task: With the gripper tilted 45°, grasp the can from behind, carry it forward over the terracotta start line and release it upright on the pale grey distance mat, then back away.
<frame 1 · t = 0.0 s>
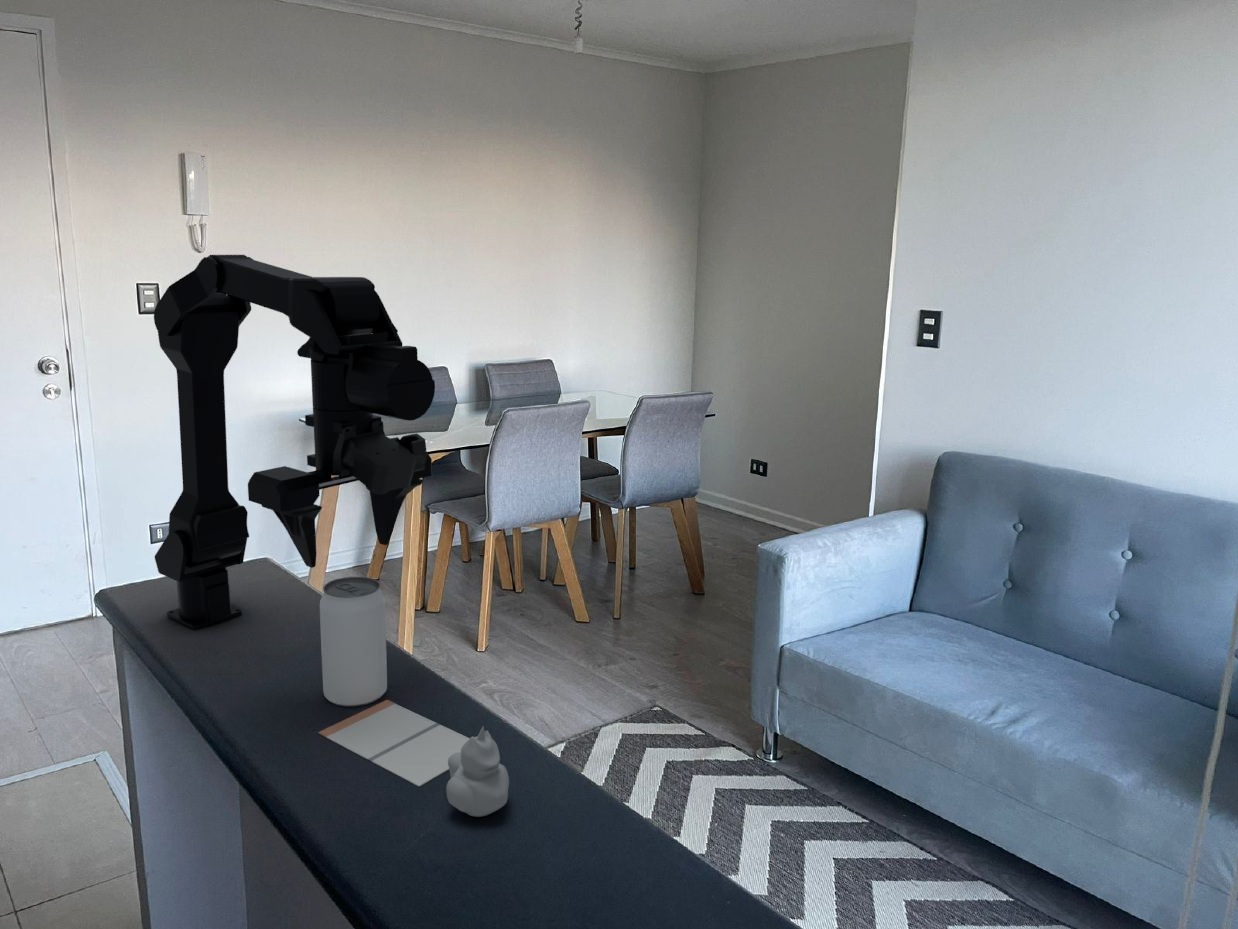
hand: (348, 555, 99), 15 cm above the counter, tool pointing down, fingers open, 9 cm apart
distance mat: (401, 740, 92), on the counter
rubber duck: (476, 808, 82), on the counter
can: (355, 695, 100), on the counter
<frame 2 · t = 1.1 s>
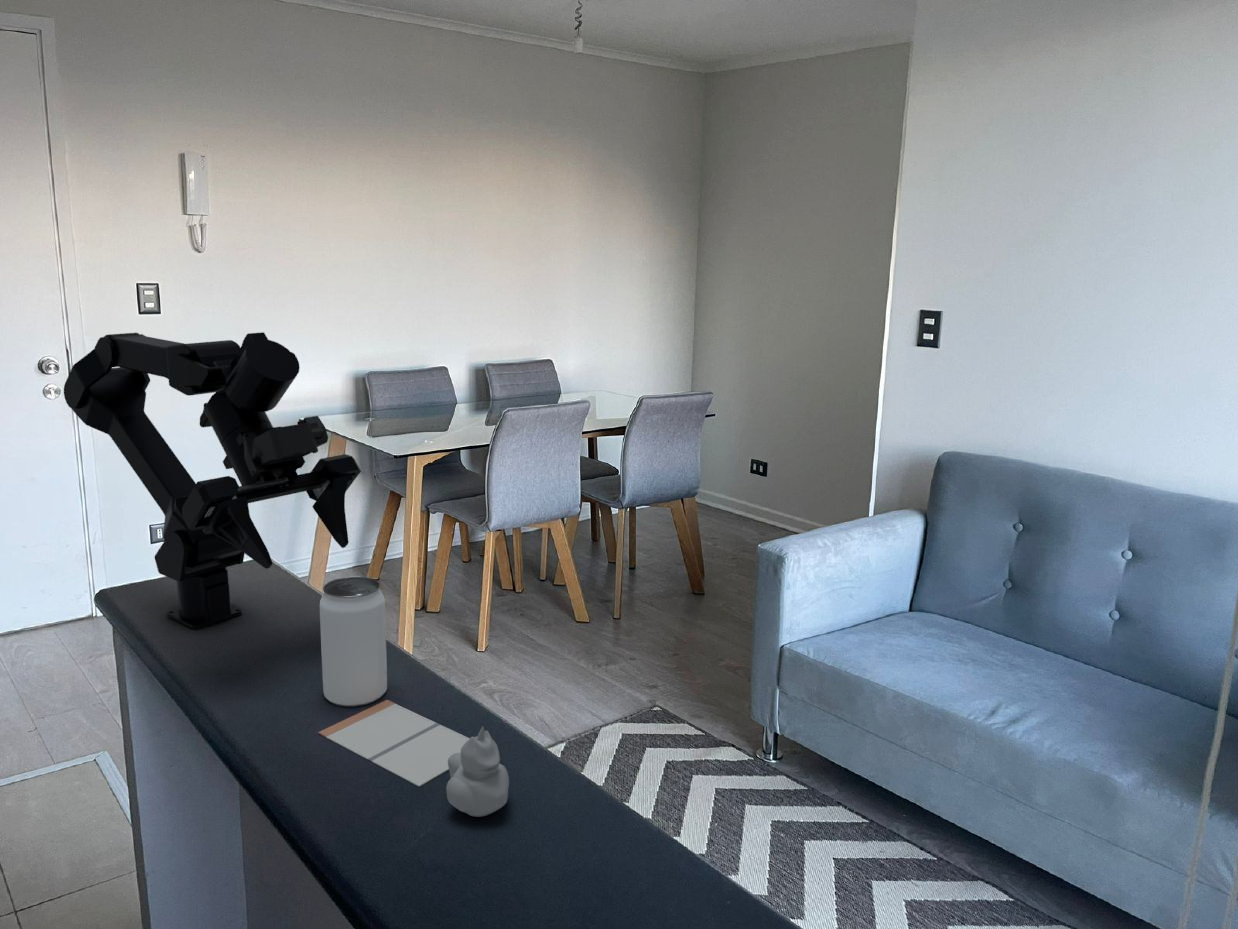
hand: (308, 555, 102), 13 cm above the counter, tool tilted 45°, fingers open, 9 cm apart
nothing on the counter moved.
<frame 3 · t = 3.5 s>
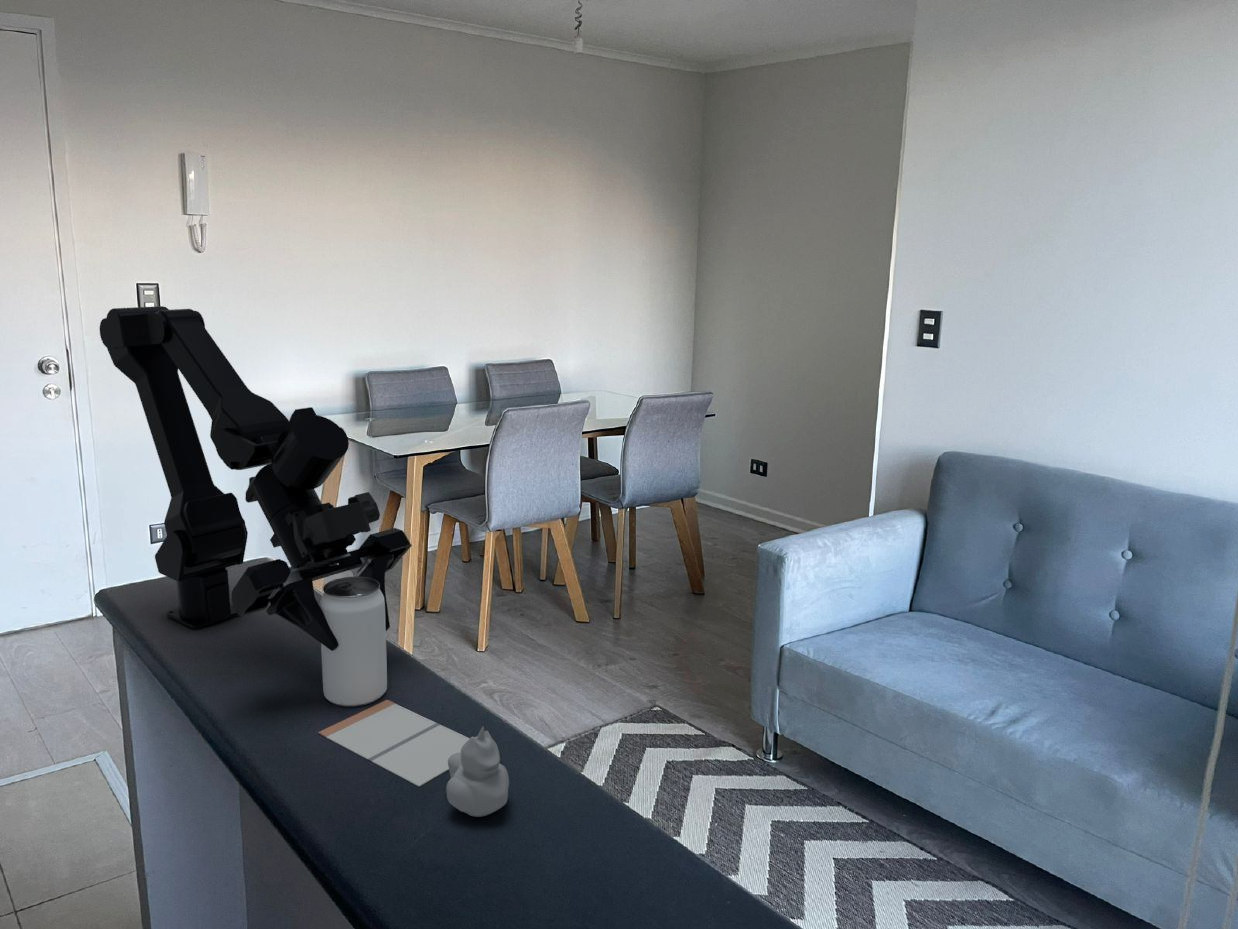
hand: (361, 639, 98), 7 cm above the counter, tool tilted 45°, fingers closed on can, 6 cm apart
can: (355, 695, 100), on the counter, touching gripper
everything else where it was.
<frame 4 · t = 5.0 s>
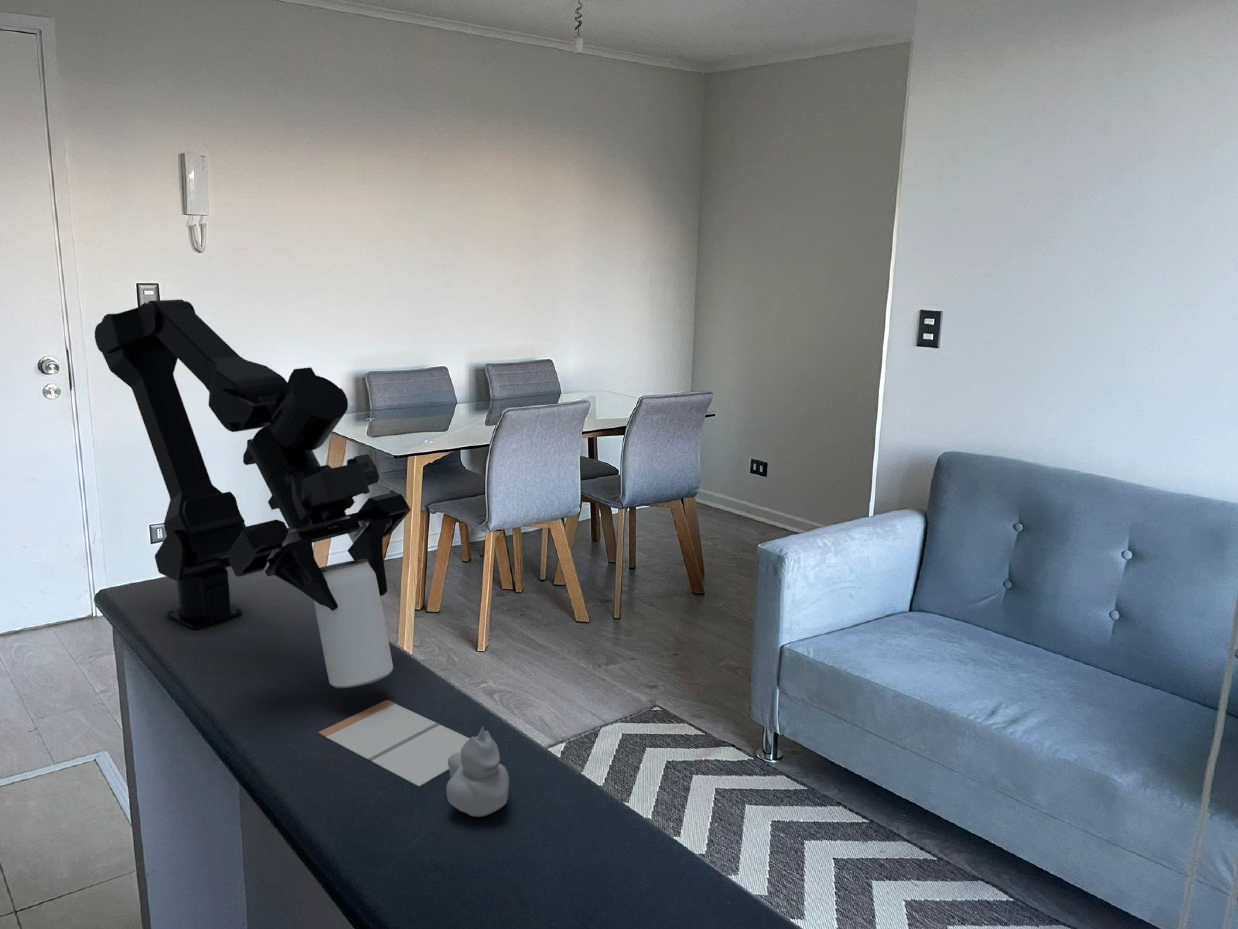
hand: (360, 601, 97), 11 cm above the counter, tool tilted 45°, fingers closed on can, 6 cm apart
can: (362, 681, 98), point 2 cm above the counter, touching gripper
everything else where it was.
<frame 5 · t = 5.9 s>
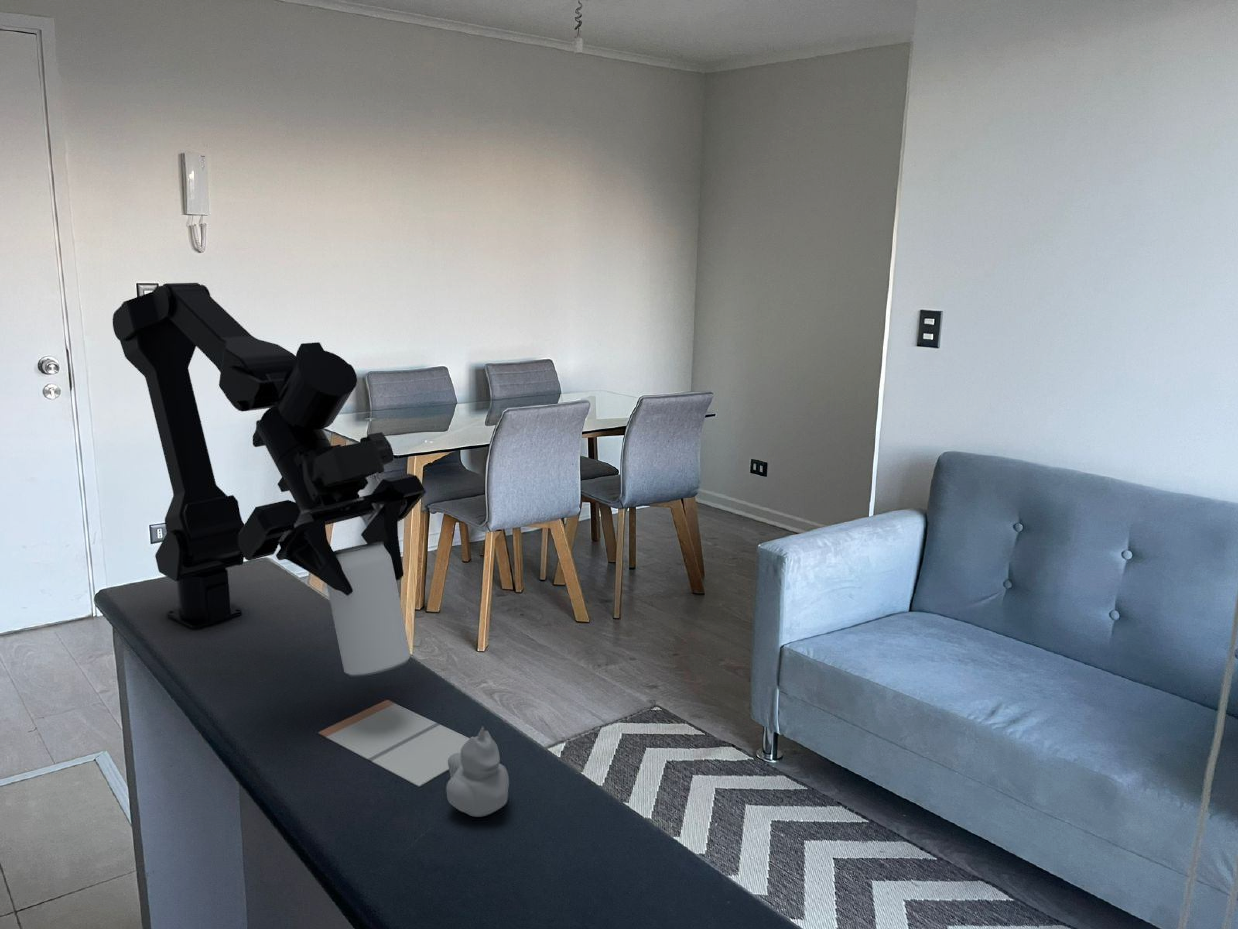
hand: (375, 586, 93), 14 cm above the counter, tool tilted 45°, fingers closed on can, 6 cm apart
can: (378, 669, 94), point 6 cm above the counter, touching gripper
everything else where it was.
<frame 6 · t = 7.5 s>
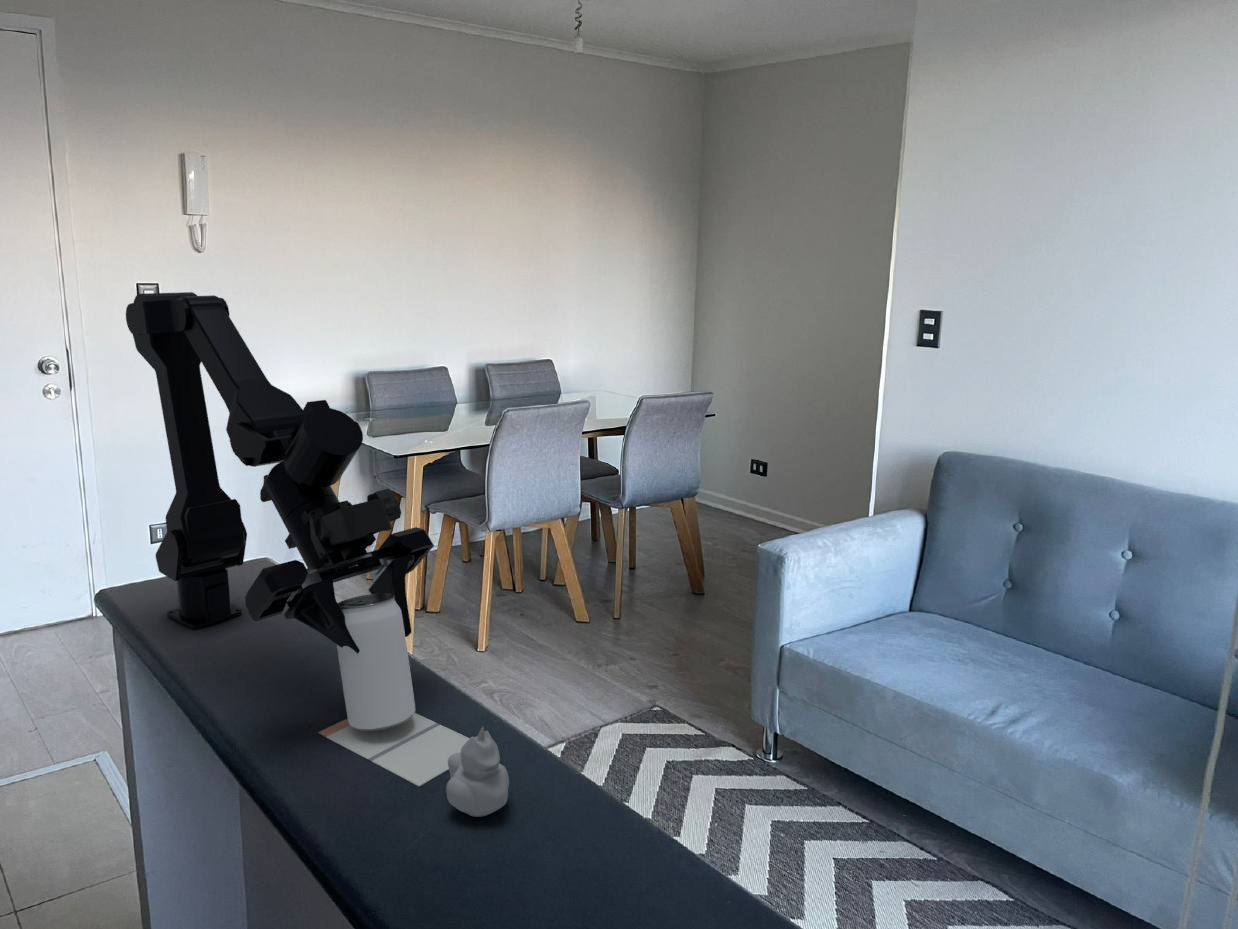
hand: (383, 644, 92), 9 cm above the counter, tool tilted 45°, fingers closed on can, 5 cm apart
can: (383, 722, 94), point 1 cm above the counter, touching distance mat, gripper
everything else where it was.
when the fingers open (9 cm above the counter, at t = 7.8 s): can stays where it is, resting on distance mat.
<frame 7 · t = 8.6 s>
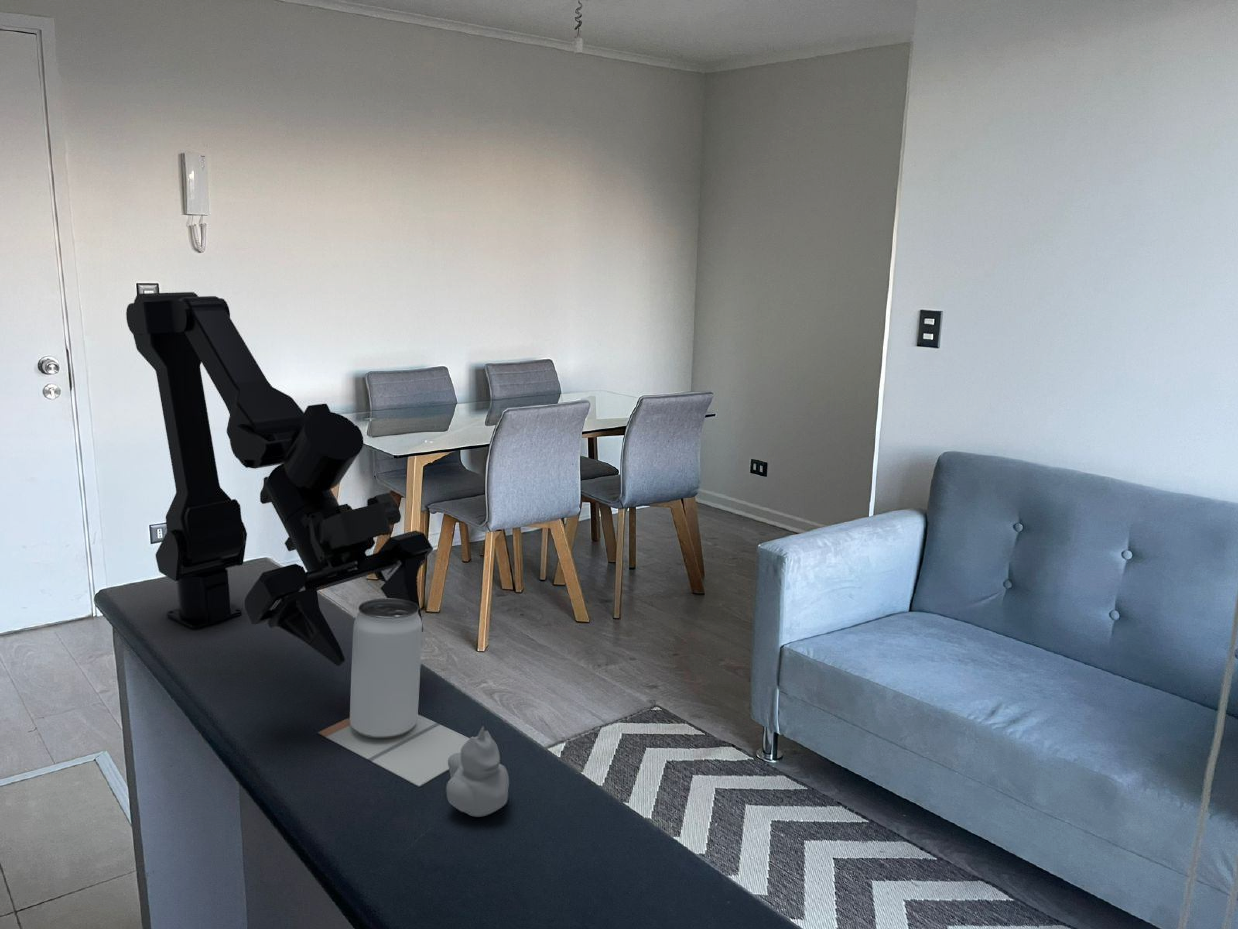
hand: (382, 648, 92), 8 cm above the counter, tool tilted 45°, fingers open, 9 cm apart
can: (383, 726, 94), resting on distance mat
everything else where it was.
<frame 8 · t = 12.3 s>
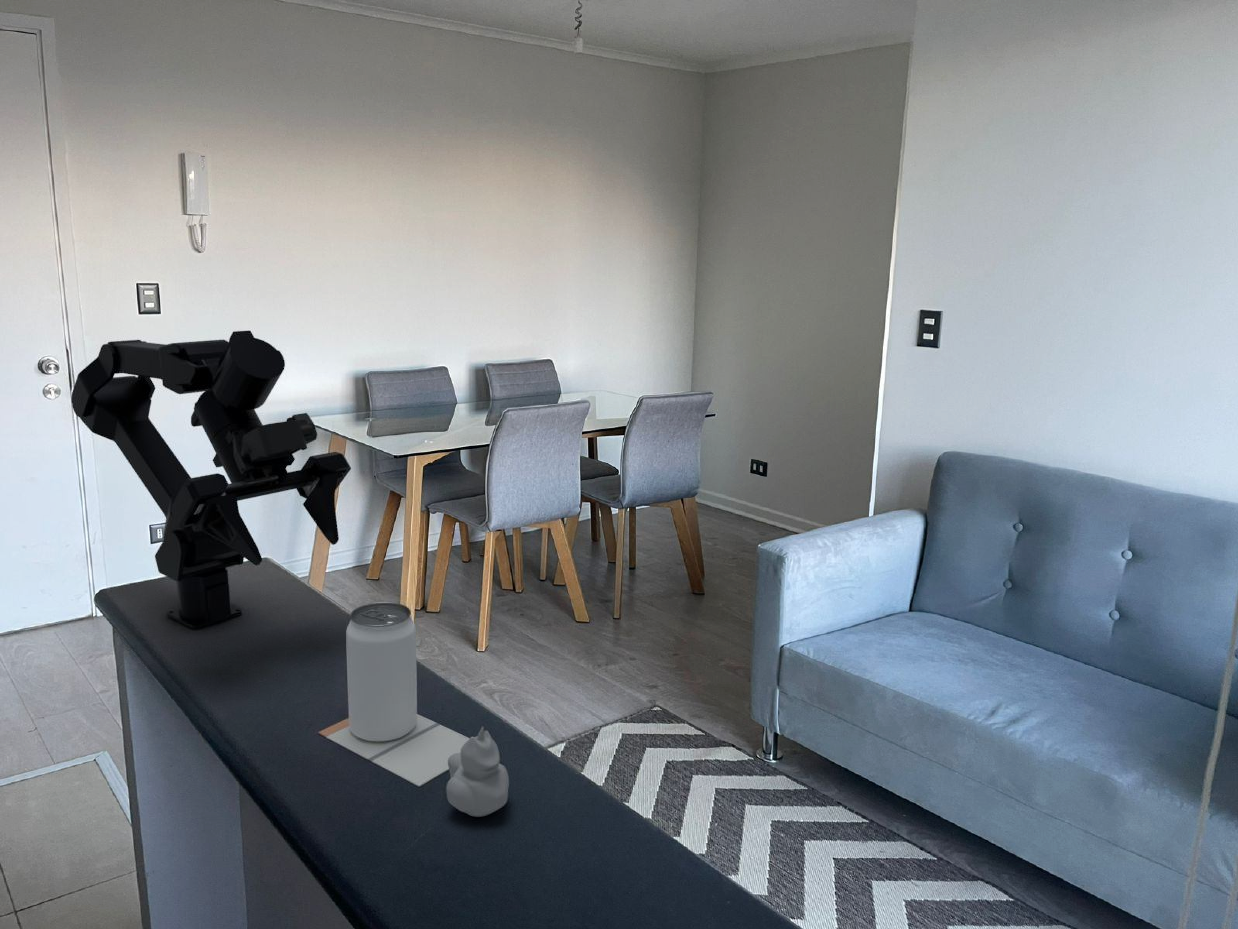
hand: (298, 552, 102), 14 cm above the counter, tool tilted 45°, fingers open, 9 cm apart
at the end: can inside the target area (1.6 cm from its centre), resting on distance mat; can tilted 0°; the gripper is holding nothing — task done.
